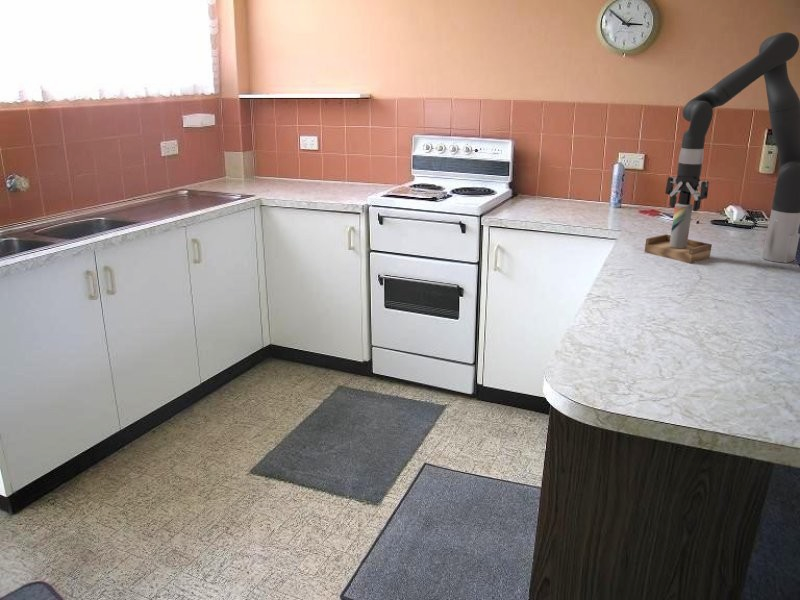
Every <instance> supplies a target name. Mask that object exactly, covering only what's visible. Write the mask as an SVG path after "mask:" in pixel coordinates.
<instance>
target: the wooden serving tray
mask: <svg viewBox="0 0 800 600" xmlns="http://www.w3.org/2000/svg"><path fill="white" fill-rule="evenodd" d="M670 238H671V234H670V235H669V234H661V235H657V236H652V237H646V238H645V245H644V253H647V254H651V255H655V256H659V257H663V258H667V259H671V260H675V261H679V262H683V263H687V264H693V263H697V262H700V261H704V260H708V259H710V257H711V251H712V245H713V244H712V243H708V242H703V241H699V240H693V239H689V238H688V241H687V247H686V248H683V249H678V248H672V247H670Z"/></svg>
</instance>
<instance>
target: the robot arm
mask: <svg viewBox="0 0 800 600" xmlns="http://www.w3.org/2000/svg"><path fill="white" fill-rule="evenodd" d="M799 48H800V42H799V39H798V37H797V36H796V35H795V34H794V33H791V32H789V31H788V32H786V31H785V32H780V33H776V34H774V35H772V36H769V37H767V38H765V39H764V40H763V41H762V42H761V43H760V46H759V48H758V54H757V55H756V56H755V57H754V58H752V59H750V60H749V61H747V62H746V63H745V64H743V65H741V66H740V67H739V68H736V69H735V70H734V71H732V72H730V73H729V74H727V75H726V76H724V77H723V78H722V79H720V80H719V81H718V82H717V83H715V84H714V85H713V86H712V87H710V88H709V89H708V90H705V91H704V92H702V93H700V94H699V95H697V96H694V97H693V98H692V99H691V100H689V101H688V102H687V103H686V104H685V105H684V107H683V109H682V117H683V119H684V120H685V121H687V122H689V123H690V124H689V127H688V129H687V130H685V131H684V132H683V134H682V140H681V149H680V151H679V156H678V164H677V171H676V175H677V176H676V177H675V176H668V178H667V182H666V188H665V194H666V195H669V206H670V208H672V209H673V208H675V204H677V198H678V197H677V195H679V194H680V191H686V192H691V194H692V195H691V196H692V197H693V198H694V200H693V204H692V205H693V207H692V212H698V211H699V210H700V209H701V202H702V200H705V199H707V198H708V194H709V192H708V191H709V180H704V181H702V180H701V179H700V178H701V175H702V174H701V173H702V169H703V168H702V167H703V162H704V151H705V150H704V149H705V142H706V136H707V132H708V131H709V128H710V125H711V122H712V120H713V115H714V113H713V109H715V108H718V107H722V106H724V105H725V104H726V103H728V102H729V101H731V100H732V99H733V98H735V97H736V96H737V95H738V94H740V93H741V92H742V91H743V90H745V89H746V88H748V87H749V86H750V85H752V84H753V83H754V82H755V81H757V80H758V79H760V78H761V77H763V78H764V82H765V83H764V84H765V90H766V97H767V104H768V113H769V114H768V115H769V120H770V127H771V131H772V136H773V139H774V141H775V145H776V147H777V154H778V175H777V179H776V185H775V188H774V189H775V190H774V195H773V200H772V206H771V211H770V214H769V215H770V216H769V221H768V227H767V231H766V236H765V241H764V247H763V250H762V256H761V257H762V258H763V259H765V260H767V261H771V262H777V263H784V264H787V263H790V262H794V261H795V259H796V255H797V249H798V245H799V240H800V233H799V228H800V97H799V95H798V93H797V91H796V90H795V87H794V86H793V84H792V83H791V81H790V78H789V74H788V65H787V62H789V61H790V60H791V59H793V58H794V57H795V56H796V54H797V52H798V51H799ZM675 183H676V186H675ZM674 186H675V187H674ZM699 187H700V189H699ZM793 260H794V261H793Z"/></svg>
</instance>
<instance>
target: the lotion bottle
mask: <svg viewBox="0 0 800 600" xmlns="http://www.w3.org/2000/svg"><path fill="white" fill-rule="evenodd" d="M692 196H693V195H692V194H691V192H686V191H680V192H679V193H678V201H677V202H678V203H677V202H676V204H675V207H674V209H673V218H672V224H671V232H670V235H671V238H670V247H672V248H678V249H683V248H686V247H687V241H688V239H689V233H690V227H691V221H692V214H693V205H694V204H691V203H692V202H691V201H692Z"/></svg>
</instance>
